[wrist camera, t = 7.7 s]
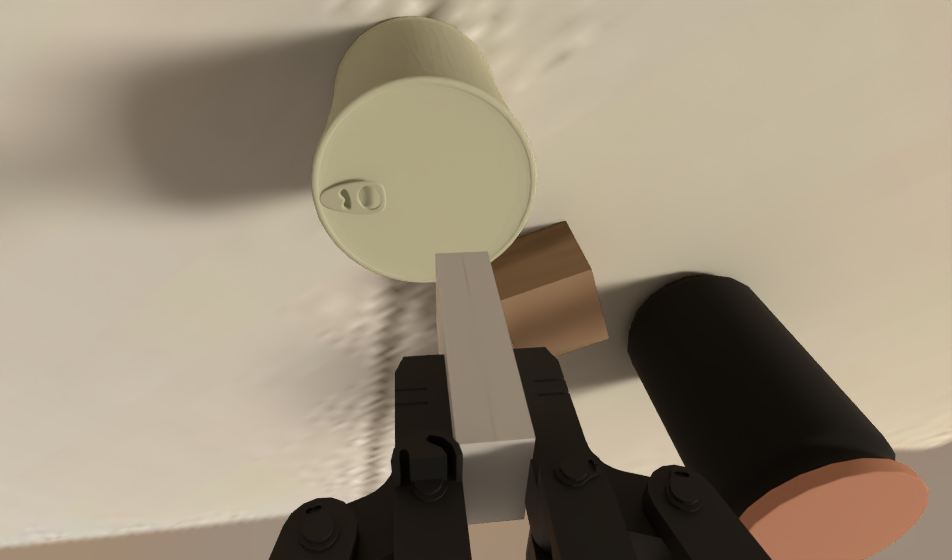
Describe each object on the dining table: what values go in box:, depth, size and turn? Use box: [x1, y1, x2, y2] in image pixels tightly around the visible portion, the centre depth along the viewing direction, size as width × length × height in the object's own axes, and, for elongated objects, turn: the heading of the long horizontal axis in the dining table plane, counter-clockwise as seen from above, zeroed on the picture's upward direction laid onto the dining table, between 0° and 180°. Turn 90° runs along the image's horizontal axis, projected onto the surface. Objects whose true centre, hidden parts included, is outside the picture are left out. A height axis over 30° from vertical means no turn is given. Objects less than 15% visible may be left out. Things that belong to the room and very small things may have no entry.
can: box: [311, 16, 537, 283], centre depth 27 cm, size 9×9×12 cm
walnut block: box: [491, 221, 609, 357], centre depth 37 cm, size 6×6×6 cm
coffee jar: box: [628, 274, 929, 560], centre depth 37 cm, size 11×11×18 cm
